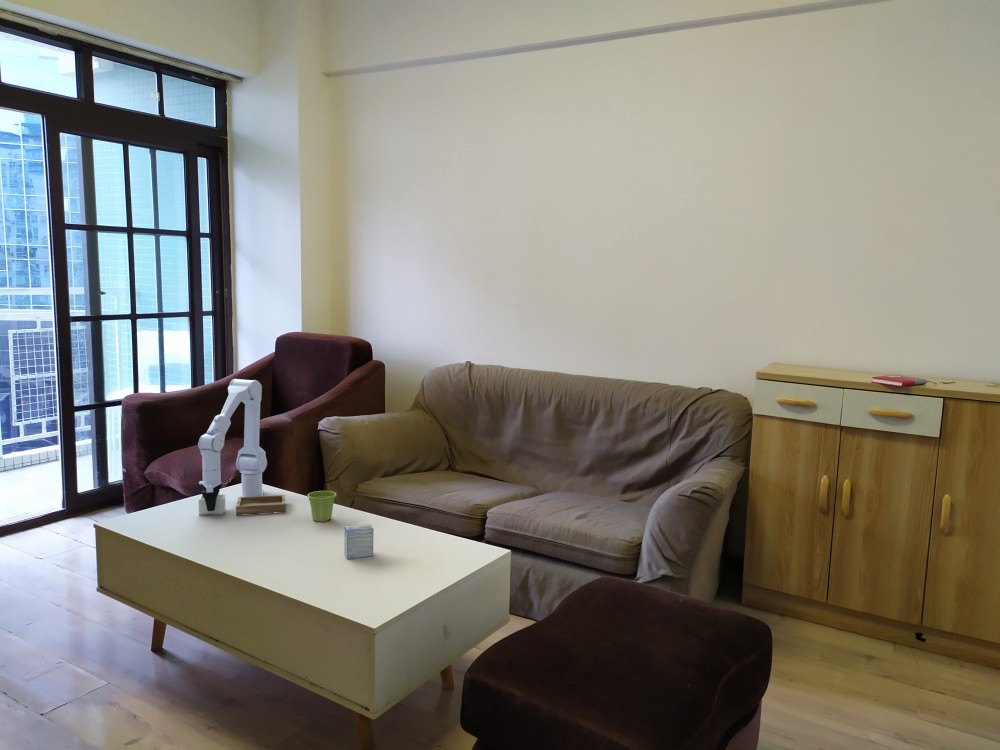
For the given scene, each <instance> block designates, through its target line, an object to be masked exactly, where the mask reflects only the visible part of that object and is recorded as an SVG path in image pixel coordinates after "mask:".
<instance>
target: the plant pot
mask: <svg viewBox="0 0 1000 750" xmlns="http://www.w3.org/2000/svg"><path fill="white" fill-rule="evenodd" d="M336 496H337V492H335V491H331V490H318V491H313V492H309V493H308V494H307V498H308V500H309V503H310V509H311V518H312V520H313V521H314V520H315V521H316V522H318V521H323V522H327V521H330V520H329V519H331V520H332V515H333V509H334V503H335V498H336ZM326 520H327V521H326Z"/></svg>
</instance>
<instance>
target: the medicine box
mask: <svg viewBox="0 0 1000 750" xmlns="http://www.w3.org/2000/svg"><path fill="white" fill-rule="evenodd" d="M343 530H344V531H343V541H344V542H343V545H344V546H343V552H344V556H345V558H346V560H349V559H357V558H358V559H359V558H360V559H361V558H367V557H374V527H373V526H372V524H370V523H364V524H362V523H361V524H353V525H345V526H344V528H343Z"/></svg>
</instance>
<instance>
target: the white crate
mask: <svg viewBox="0 0 1000 750" xmlns="http://www.w3.org/2000/svg"><path fill="white" fill-rule="evenodd" d="M224 512H225V513H226V494H225V493H224V494H218V496H217V499H216V506H215V510H214V511H208V510H207V507H206V502H205V499H204V497H203V496H202V495H200V496H199V498H198V515H199V516H208V515H207V514H215V515H221V514H220V513H224ZM225 513H224V514H225Z"/></svg>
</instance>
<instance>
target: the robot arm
mask: <svg viewBox="0 0 1000 750" xmlns="http://www.w3.org/2000/svg"><path fill="white" fill-rule="evenodd" d="M262 387H263V386H262V384H261V382H260V381H259V380H256V379H253V380H252V379H251V380H250V379H238V378H233V379H232V380H230V383H229V384H228V387H227V392H228V396H227V398H226V400H225V403H224V405H223V407H222V409H221V412H220V414H217V415H215V416H214V418H213V420H212V422H211V423H210V425H209V428H208V429H207V431H206V433H204V434H202V435H201V436H200V437H199V440H198V443H197V446H198V449H199V451H200V455H201V458H202V466H201V467H202V480H200V481H199V482H198V484H199V486H200V485H202V486H204V488H205V490H201V492H200V494H201V496H203V497H204V499H205V502H206V507H207V510H208V511H214V510H215V506H216V499H217V496H218V495H220V494H219V493H220V490H221V487H222V486H223V483H222V479H221V478H222V477H221V475H222V473H221V451H222V449H223V448H224V446H225V439H226V434H227V432H228V430H229V428H230V426H231V424H232V422H231V417H232V416H233V414H234V412H235V411H236V409H237V408H238V406H239V405H240V404H241V403H243V404H244V430H243V435H244V438H243V447H241V448H240V449H239V450H238V452H237V458H236V460H235V466H236V468H237V470H238V471H239V473H241V493H240V497H253V496H264V494H263V493H265V490H264V489H263V473H264V472H265V470H266V468H267V466H268V461H267V456H266V455H267V454H266V451H265V450H264V449H263V448H262V447H261V446H260V429H261V428H260V427H261V426H260V421H261V401H262V392H263V391H262Z"/></svg>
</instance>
